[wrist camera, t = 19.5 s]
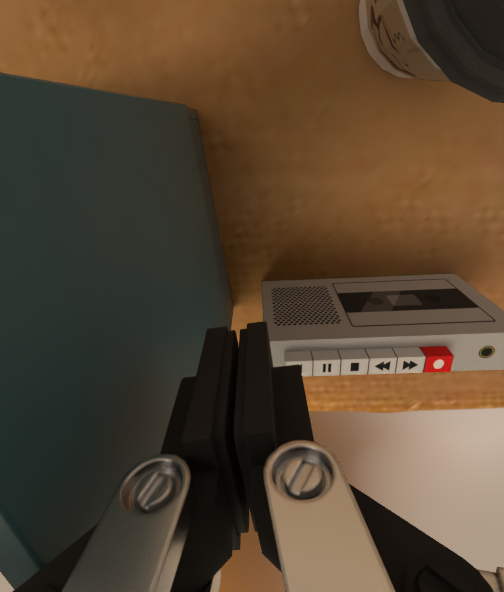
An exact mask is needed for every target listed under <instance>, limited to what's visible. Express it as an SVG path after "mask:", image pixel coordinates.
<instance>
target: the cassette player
mask: <svg viewBox="0 0 504 592" xmlns="http://www.w3.org/2000/svg"><path fill="white" fill-rule="evenodd" d="M262 301H263V322H265V321H266V322H267V327H268V334H269V340H270V347H271V354H272V361H273V367H280V366H288V365H297V364H300V369H301V374H302V376H332V375H362V374H391V373H421V372H450V371H475V370H504V311H503V310H502V309H500V308H499V307H498V306H497V305H495V304H494V303H493V302H491V301H490V300H489V299H487V298H486V297H485V296H483V295H482V294H481V293H480V292H478V291H477V290H476V289H474V288H473V287H472V286H470V285H469V284H468V283H466V282H465V281H464V280H462V279H461V278H460V277H459V276H457V275H456V274H455V273H451V274H427V275H403V276H379V277H355V278H331V279H307V280H283V281H262Z"/></svg>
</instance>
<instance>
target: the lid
mask: <svg viewBox="0 0 504 592" xmlns="http://www.w3.org/2000/svg"><path fill="white" fill-rule="evenodd" d="M224 326H227V327H228V330H229V331H231V329H230V324H229V319H228V314H227V308H226V303H225V298H224V293H223V288H222V283H221V278H220V273H219V268H218V263H217V258H216V253H215V248H214V243H213V238H212V233H211V228H210V223H209V218H208V213H207V208H206V203H205V198H204V193H203V188H202V183H201V178H200V173H199V168H198V163H197V158H196V153H195V148H194V143H193V138H192V133H191V128H190V123H189V118H188V113H187V108H186V105H184V104H178V103H172V102H166V101H161V100H155V99H149V98H143V97H138V96H132V95H126V94H120V93H115V92H109V91H103V90H97V89H92V88H86V87H80V86H74V85H69V84H63V83H57V82H51V81H46V80H40V79H34V78H28V77H23V76H17V75H11V74H5V73H0V572H1V573H2V574H3V576H4V577H5V578H6V580H7V581H8V582H9V583H10V584H11V586H12V587H13V588H14V590H15V589H17V588H18V587H19V586H20V585H22V584H23V583H24V582H25V581H27V580H28V579H29V578H30V577H32V576H33V575H34V574H35V573H37V572H38V571H39V570H40V569H42V568H43V567H44V566H45V565H47V564H48V563H49V562H50V561H52V560H53V559H54V558H55V557H57V556H58V555H59V554H60V553H62V552H63V551H64V550H65V549H66V548H68V547H69V546H70V545H71V544H73V543H74V542H75V541H76V540H78V539H79V538H80V537H81V536H83V535H84V534H85V533H86V532H88V531H89V530H90V529H91V528H93V527H94V526H95V525H96V524H98V522H99V520H100V518H101V516H102V514H103V513H104V511H105V509H106V507H107V505H108V503H109V501H110V499H111V497H112V496H113V494H114V492H115V490H116V488H117V486H118V484H119V483H120V481H121V480H122V478H123V477H124V475H125V474H126V473H127V472H128V471H129V470H130V469H131V468H132V467H133V466H134V465H136V464H137V463H139V462H140V461H142V460H144V459H145V458H148V457H151V456H154V455H157V454H160V452H161V449H162V445H163V442H164V438H165V435H166V431H167V428H168V424H169V421H170V417H171V414H172V410H173V407H174V403H175V400H176V396H177V393H178V389H179V386H180V382H181V380H182V379H183V378H184V377H192V376H196V374H197V370H198V366H199V361H200V357H201V353H202V348H203V344H204V340H205V335H206V331H207V329H208V328H216V327H224Z"/></svg>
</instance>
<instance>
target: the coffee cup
mask: <svg viewBox="0 0 504 592" xmlns="http://www.w3.org/2000/svg"><path fill="white" fill-rule="evenodd" d="M358 12H359V21H360V31H361V36H362V39H363V41H364V43H365V46H366V48H367V51H368V53H369V55H370V56H371V57H372V58H373V59H374V61H375V62H376V63H377V64H378V65H379V66H380V67H381V68H382V69H383V70H385V71H387V72H389V73H391V74H393V75H395V76H397V77H400V78H411V79H422V80H434V81H445V82H454V83H456V84H458V85H460V86H462V87H464V88H466V89H468V90H470V91H472V92H474V93H476V94H478V95H480V96H482V97H484V98H486V99H488V100H490V101H492V102H501V103H504V0H360V4H359V11H358Z"/></svg>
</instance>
